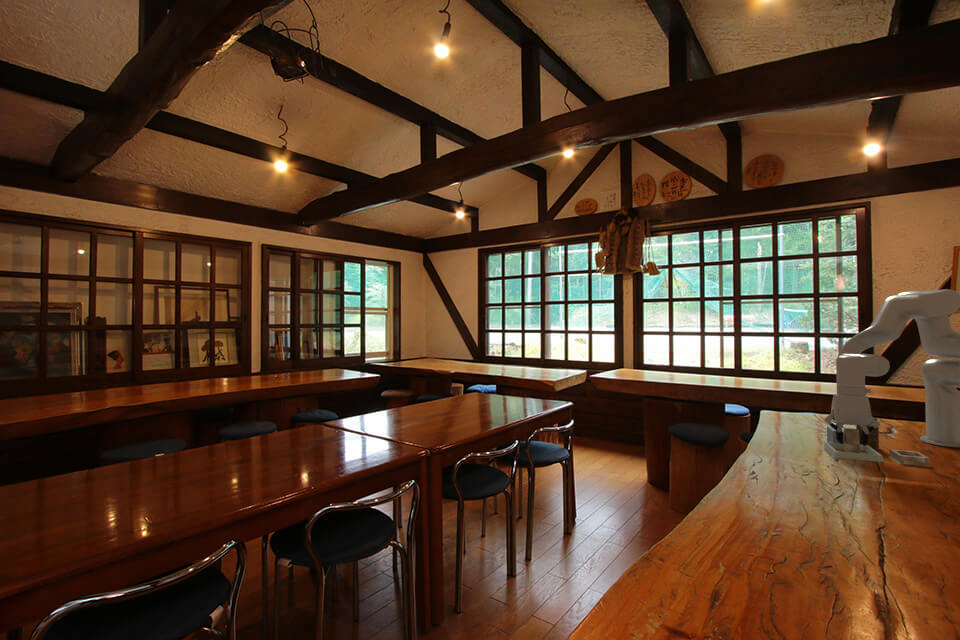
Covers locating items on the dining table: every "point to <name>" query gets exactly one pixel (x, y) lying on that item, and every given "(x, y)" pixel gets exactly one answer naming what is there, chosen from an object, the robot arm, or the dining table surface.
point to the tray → (872, 455)
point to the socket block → (909, 458)
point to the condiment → (871, 437)
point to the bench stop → (832, 435)
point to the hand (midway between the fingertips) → (851, 443)
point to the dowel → (852, 440)
